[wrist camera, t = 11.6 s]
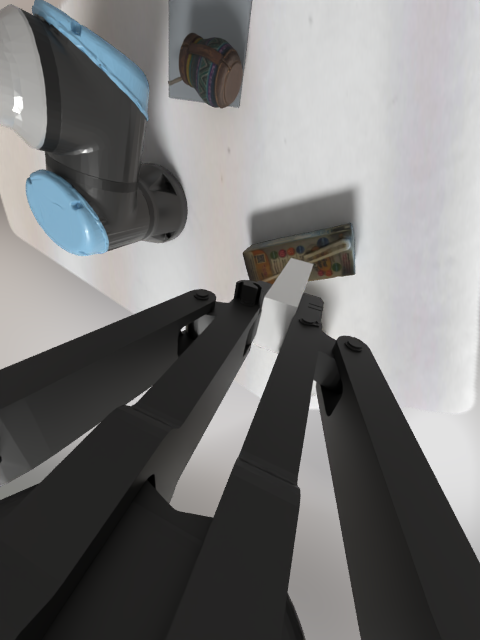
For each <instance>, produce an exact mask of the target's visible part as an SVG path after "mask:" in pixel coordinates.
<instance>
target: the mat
mask: <svg viewBox="0 0 480 640" xmlns="http://www.w3.org/2000/svg"><path fill="white" fill-rule="evenodd" d="M251 7H252V0H169V81H172V80H174V79H175V78H178V77H180V72H179V53H180V49H181V46H182V43H183V41H184V39H185V37H186V36H187V35H188V34H190V33H196V34H197V35H199V36H201V37H202V38H203V39H208V38H212V37H217V38H222V39H224V40H226V41H227V42H228V43H229V44H230V45H231V46H232V47H233V48H234V49H235V50H236V51H237V53H238V55H239V57H240V60H241V65H242V70H243V73H244V65H245V57H246V48H247V40H248V32H249V24H250V15H251ZM242 81H243V77H242ZM241 90H242V83H241V87H240V90H239V93H238V95H237V97H236V99H235V100H234V102H233V103H231V104H230V105H229V106H230V107H237V108H239V106H240V98H241ZM169 97H170V98H175V99H182V100H189V101H196V102H203V103H205V102H204V101H203V100H202V98H201V97H200V96H199V94H198V93H197V92H196V90H195V89H194V88H192V87H190V86H189V85H187V84H185V83H184V82H183V80H182V81H180V82H178V83H175V84H173V85H171V86H170V85H169Z"/></svg>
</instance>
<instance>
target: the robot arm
mask: <svg viewBox="0 0 480 640" xmlns="http://www.w3.org/2000/svg"><path fill="white" fill-rule="evenodd" d="M32 13H33V15H34V16H33V15H31V14H30V13H28V12H26V11H24V10H22V9H20V8H18V7H16V6H14V5H12V4H11V5H7V6H6V7H4V8H3V9H1V10H0V126H3V127H7V128H10V129H11V130H13V131H14V132H15V133H16V134H17V135H18V136H19V137H20V138H21V139H22V140H23V141H24V142H25V143H26V144H27V145H28V146H30V147H31V148H33V149H37V150H42V151H45V157H46V170H37V171H36V172H34V173H32V174H31V175H30V177H29V178H28V179H27V181H26V195H27V199H28V203H29V206H30V208H31V210H32V212H33V214H34V216H35V218H36V220H37V222H38V223H39V225H40V226H41V227H42V229H43V230H44V231H45V233H46V234H47V235H48V236H49V237H50V238H51V239H52V240H53V241H54V242H55V243H56V244H57V245H58V246H60V247H61V248H62V249H64V250H66V251H67V252H69V253H72V254H75V255H78V256H88V255H93V254H97V253H98V254H102V253H105V252H107V251H110V250H113V249H116V248H119V247H122V246H125V245H128V244H132V243H135V242H138V241H147V242H153V243H164V242H167V241H170V240H173V239H175V238H176V237H177V236H179V235H180V233H181V232H182V230H183V229H184V226H185V224H186V220H187V203H186V198H185V195H184V192H183V190H182V188H181V186H180V184H179V182H178V181H177V179H176V178H175V177H174V176H173V175H172V174H171V173H170V172H169V171H168V170H166V169H165V168H163V167H161V166H159V165H155V164H141V159H142V151H143V143H144V136H145V128H146V121H148V114H147V111H148V100H149V84H148V81H147V78H146V76H145V74H144V73H143V71H142V70H141V69H140V68H139V67H138V66H137V65H136V64H135V63H134V62H133V61H131V60H130V59H129V58H128V57H126V56H125V55H124V54H123V53H121V52H120V51H119V50H117V49H116V48H115V47H113V46H112V45H111V44H109V43H108V42H106V41H105V40H104V39H102V38H101V37H99V36H98V35H97V34H95V33H94V32H92V31H91V30H89V29H88V28H86V27H85V26H83V25H80V24H79V23H78V22H77V21H75V20H74V19H72V18H71V17H69V16H68V15H67V14H66V13H64V12H63V11H61V10H59V9H58V8H56V7H54V6H53V5H51V4H49V3H48V2H46V1H44V0H35V2H34V6H32ZM312 267H313V264H311V263H308V262H304V261H300V260H297V259H293V258H291V259H290V260H289V262H288V263H287V265H286V266H285V268H284V269H283V270H282V272H281V273H280V275H279V276H278V278H277V279H276V281H275V282H274V284H270V283H267V282H264V281H258V282H255V281H250V280H241V281H238V282H236V288H235V294H234V299H233V300H232V301H231V302H230V303H223V302H216V296H215V294H214V293H212V292H210V291H207V290H204V289H199V290H192V291H189V292H187V293H185V294H182V295H180V296H177V297H175V298H173V299H170V300H168V301H165V302H163V303H160V304H158V305H156V306H153V307H151V308H148V309H146V310H144V311H141V312H139V313H136V314H134V315H131V316H129V317H127V318H124V319H122V320H119V321H117V322H115V323H112V324H110V325H108V326H105V327H103V328H100V329H98V330H95V331H93V332H90V333H88V334H86V335H83V336H81V337H78V338H76V339H74V340H71V341H69V342H66V343H64V344H62V345H59V346H57V347H54V348H52V349H49V350H47V351H45V352H42V353H40V354H37V355H35V356H33V357H30V358H28V359H25V360H23V361H21V362H18V363H16V364H13V365H11V366H8V367H6V368H4V369H1V370H0V487H1V486H3V485H5V484H7V483H9V482H11V481H12V480H14V479H16V478H18V477H20V476H21V475H23V474H25V473H27V472H28V471H30V470H32V469H34V468H35V467H36V466H38V465H40V464H41V463H43V462H44V461H46V460H47V459H49V458H50V457H52V456H53V455H55V454H56V453H58V452H59V451H60V450H62V449H63V448H65V447H66V446H68V445H69V444H70V443H72V442H73V441H75V440H76V439H78V438H79V437H80V436H82V435H83V434H84V433H86V432H87V431H89V430H90V429H92V428H93V427H95V426H96V425H97V424H99V423H100V422H101V423H100V424H99V425H98V426H97V427H96V428H95V429H94V430H93V431H92V432H91V433H90V434H89V435H88V436H87V437H86V438H85V439H84V440H83V441H82V442H81V443H80V444H79V445H78V446H77V447H76V448H75V449H74V450H73V451H72V452H71V453H70V454H69V455H68V456H67V457H66V458H65V459H64V460H63V461H62V462H61V463H60V464H59V465H58V466H57V467H56V468H55V469H54V470H53V471H52V472H51V473H50V474H49V475H48V476H47V477H46V478H45V479H44V480H43V481H42V482H41V483H39V484H37V485H34V486H32V487H30V488H27V489H25V490H23V491H20V492H18V493H16V494H14V495H11V496H9V497H6V498H4V499H2V500H0V640H305V636H304V633H303V630H302V627H301V624H300V621H299V618H298V616H297V613H296V611H295V608H294V606H293V603H292V602H291V599H290V597H289V595H288V593H287V591H288V583H289V577H290V569H291V563H292V556H293V549H294V541H295V534H296V527H297V521H298V514H299V506H300V488H299V487H298V486H297V480H298V472H299V466H300V460H301V454H302V448H303V441H304V435H305V429H306V423H307V417H308V411H309V405H310V398H311V392H312V386H313V380H314V381H316V392H317V398H318V403H319V409H320V414H321V420H322V425H323V431H324V436H325V442H326V448H327V453H328V458H329V464H330V470H331V475H332V481H333V486H334V492H335V498H336V503H337V509H338V514H339V520H340V525H341V531H342V537H343V542H344V547H345V553H346V559H347V564H348V570H349V575H350V581H351V587H352V592H353V597H354V602H355V609H356V613H357V620H358V625H359V631H360V636H361V640H480V563H479V561H478V559H477V557H476V555H475V553H474V551H473V549H472V547H471V545H470V543H469V541H468V539H467V537H466V535H465V533H464V531H463V529H462V528H461V526H460V524H459V522H458V520H457V518H456V516H455V514H454V512H453V510H452V508H451V506H450V504H449V502H448V500H447V498H446V496H445V495H444V492H443V491H442V489H441V487H440V485H439V483H438V481H437V479H436V477H435V475H434V473H433V471H432V469H431V467H430V465H429V463H428V461H427V459H426V458H425V456H424V454H423V452H422V450H421V448H420V446H419V444H418V442H417V440H416V438H415V436H414V434H413V432H412V430H411V429H410V426H409V424H408V423H407V420H406V419H405V417H404V415H403V413H402V411H401V409H400V407H399V405H398V403H397V401H396V399H395V397H394V395H393V393H392V391H391V389H390V387H389V385H388V383H387V381H386V380H385V378H384V376H383V374H382V372H381V370H380V368H379V366H378V364H377V362H376V360H375V358H374V356H373V354H372V352H371V350H370V349H369V347H368V346H367V345H366V344H365V343H363V342H362V341H361V340H359V339H357V338H355V337H350V336H340V337H339V338H338V339H337V340H335V339H333V338H331V337H329V336H328V335H326V334H325V333H324V332H323V331H322V324H321V316H322V311H323V305H324V302H323V301H322V299H321V298H319V297H316V296H313V295H309V294H306V293H304V291H305V288H306V285H307V282H308V279H309V276H310V273H311V270H312ZM184 326H186V330H184V331H182V332H181V329H182V328H183V327H184ZM253 339H254V342H253V345H256V346H259V347H261V348H264V349H267V350H270V351H272V352H275V353H278V356H277V359H276V361H275V364H274V367H273V369H272V372H271V374H270V377H269V380H268V382H267V385H266V387H265V390H264V392H263V395H262V398H261V400H260V403H259V405H258V408H257V411H256V413H255V416H254V419H253V421H252V423H251V426H250V429H249V431H248V434H247V436H246V439H245V441H244V444H243V447H242V449H241V452H240V454H239V457H238V458H237V460H236V462H235V464H234V467H233V469H232V472H231V474H230V477H229V479H228V482H227V485H226V487H225V490H224V492H223V495H222V497H221V500H220V502H219V505H218V507H217V510H216V512H215V515H214V518H212V517H206V516H201V515H196V514H191V513H185V512H180V511H177V510H175V509H174V508H172V507H171V506H170V504H169V503H170V501H171V498H172V495H173V493H174V490H175V487H176V484H177V482H178V480H179V478H180V476H181V474H182V472H183V470H184V469H185V467H186V465H187V463H188V461H189V460H190V458H191V456H192V454H193V452H194V450H195V449H196V447H197V445H198V443H199V441H200V440H201V438H202V436H203V434H204V432H205V430H206V429H207V427H208V425H209V423H210V421H211V420H212V418H213V416H214V414H215V412H216V411H217V409H218V407H219V405H220V403H221V401H222V400H223V398H224V396H225V394H226V392H227V391H228V389H229V387H230V385H231V383H232V382H233V380H234V378H235V376H236V374H237V373H238V371H239V369H240V367H241V365H242V364H243V362H244V360H245V358H246V356H247V354H248V353H249V351H250V348H251V343H252V341H253ZM151 386H152V387H151ZM150 387H151V388H150ZM148 388H150V389H149V390H148V391H147V392H146V394H145V395H144V396H143V397H142V398H141V399H140V400H139V401H138V402H137V403H136V404H135V405H133V406H126V404H127V403H128V402H130V401H131V400H133V399H134V398H136V397H137V396H138V395H140V394H141V393H143V392H144V391H146V390H147V389H148Z"/></svg>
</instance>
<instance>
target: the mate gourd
mask: <svg viewBox="0 0 480 640" xmlns="http://www.w3.org/2000/svg"><path fill="white" fill-rule="evenodd" d="M179 72H180V77H178V78H175V79H174V80H172V81H168V83H169V85H170V86H171V85H173V84H175V83H178V82H180V81H182V80H183V82H184V83H185V84H187V85H189V86H190V87H192V88H194V89H195V90H196V92H197V93H198V94H199V96H200V97H201V98H202V100H203V101H204V102H205V103H207V104H208V105H210V106H212V107H215V108H216V107H220V108H224V107H227V106H229V105H230V104H231V103H233V102H234V100H235V99H236V97H237V95H238V93H239V90H240V87H241V83H242V77H243V70H242V65H241V60H240V57H239V55H238V53H237V51H236V50H235V49H234V48H233V47H232V46H231V45H230V44H229V43H228V42H227V41H226V40H224V39H222V38H217V37H212V38H208V39H203V38H202V37H201V36H199V35H197V34H196V33H190V34H188V35H187V36H186V37H185V39H184V41H183V43H182V46H181V49H180V53H179Z"/></svg>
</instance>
